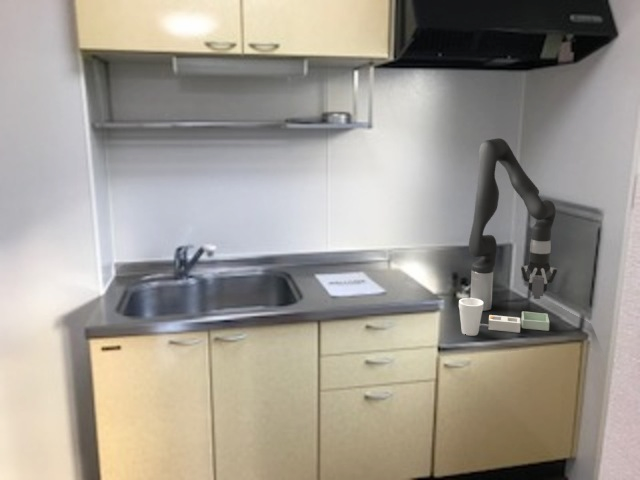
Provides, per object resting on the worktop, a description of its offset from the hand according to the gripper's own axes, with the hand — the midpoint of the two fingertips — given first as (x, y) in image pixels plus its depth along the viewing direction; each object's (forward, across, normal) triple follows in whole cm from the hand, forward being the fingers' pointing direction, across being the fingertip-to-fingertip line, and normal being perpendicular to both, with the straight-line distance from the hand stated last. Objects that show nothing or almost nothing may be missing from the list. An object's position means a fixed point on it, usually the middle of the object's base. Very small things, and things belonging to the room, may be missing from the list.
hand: (537, 291), depth 217 cm
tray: (+15, 0, 0) cm, 15 cm away
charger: (+3, 0, 0) cm, 3 cm away
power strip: (+15, +15, +7) cm, 22 cm away
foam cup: (+15, +25, +15) cm, 33 cm away
